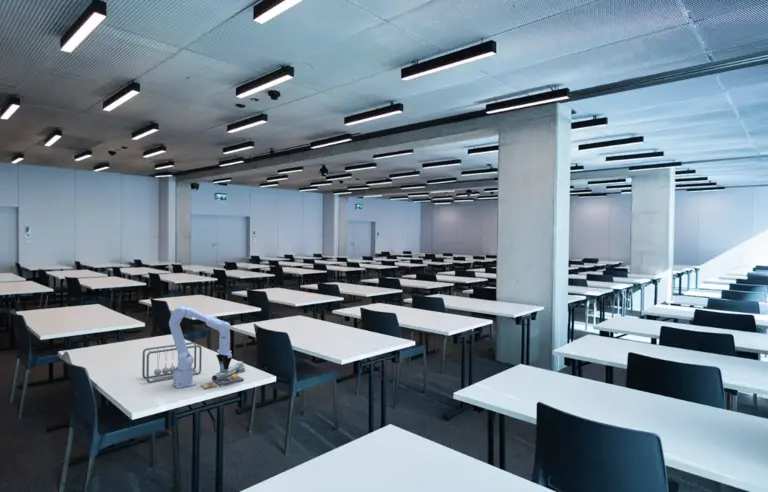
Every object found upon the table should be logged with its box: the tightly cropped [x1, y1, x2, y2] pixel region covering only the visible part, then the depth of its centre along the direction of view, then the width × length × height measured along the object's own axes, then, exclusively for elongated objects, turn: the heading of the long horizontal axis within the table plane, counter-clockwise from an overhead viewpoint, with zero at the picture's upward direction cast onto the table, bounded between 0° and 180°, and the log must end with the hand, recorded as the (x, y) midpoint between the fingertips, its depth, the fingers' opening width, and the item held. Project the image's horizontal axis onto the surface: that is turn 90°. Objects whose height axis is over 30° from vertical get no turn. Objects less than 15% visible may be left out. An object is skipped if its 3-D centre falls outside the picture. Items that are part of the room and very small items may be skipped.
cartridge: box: [219, 361, 228, 373], centre depth 252 cm, size 5×5×6 cm
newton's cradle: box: [141, 342, 202, 384], centre depth 263 cm, size 30×10×18 cm, turn 131°
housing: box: [213, 375, 245, 387], centre depth 255 cm, size 14×8×2 cm, turn 135°
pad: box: [200, 381, 219, 390], centre depth 246 cm, size 7×7×1 cm
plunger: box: [231, 373, 239, 380], centre depth 257 cm, size 3×3×3 cm
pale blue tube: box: [211, 360, 246, 382], centre depth 267 cm, size 5×7×25 cm
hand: (224, 368), depth 252 cm, fingers closed on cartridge, 5 cm apart
